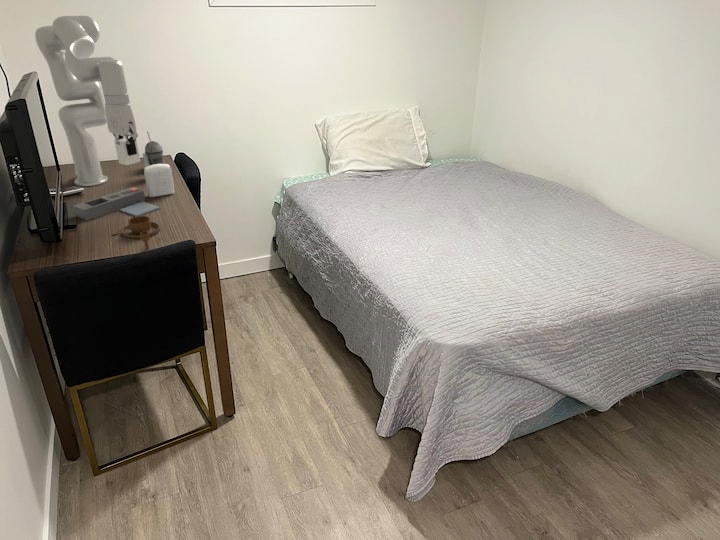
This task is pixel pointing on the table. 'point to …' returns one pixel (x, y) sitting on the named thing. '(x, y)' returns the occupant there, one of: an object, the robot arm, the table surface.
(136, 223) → the place setting
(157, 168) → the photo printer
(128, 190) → the power strip
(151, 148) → the beverage cup
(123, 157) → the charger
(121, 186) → the table surface
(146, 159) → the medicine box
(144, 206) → the mat
